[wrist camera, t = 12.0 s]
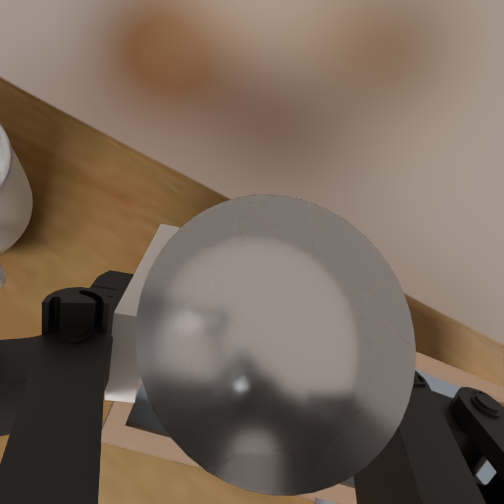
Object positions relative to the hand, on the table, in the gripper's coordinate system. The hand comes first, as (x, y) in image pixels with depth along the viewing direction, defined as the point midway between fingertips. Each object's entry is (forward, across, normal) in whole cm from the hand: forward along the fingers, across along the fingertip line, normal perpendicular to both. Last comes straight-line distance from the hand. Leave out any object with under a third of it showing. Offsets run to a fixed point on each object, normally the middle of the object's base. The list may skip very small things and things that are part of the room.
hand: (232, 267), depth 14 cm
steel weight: (0, 0, -5) cm, 5 cm away
